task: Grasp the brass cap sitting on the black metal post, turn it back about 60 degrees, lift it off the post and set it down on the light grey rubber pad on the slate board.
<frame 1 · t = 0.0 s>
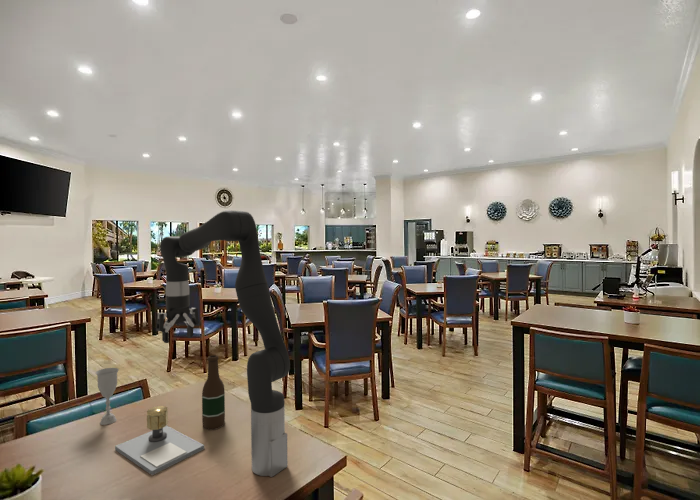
hand: (178, 340, 132), 29 cm above the table, fingers open, 8 cm apart
board: (159, 449, 116), on the table
beer bottle: (213, 425, 131), on the table
chalice: (108, 421, 134), on the table
cap: (157, 425, 120), point 5 cm above the table, touching board
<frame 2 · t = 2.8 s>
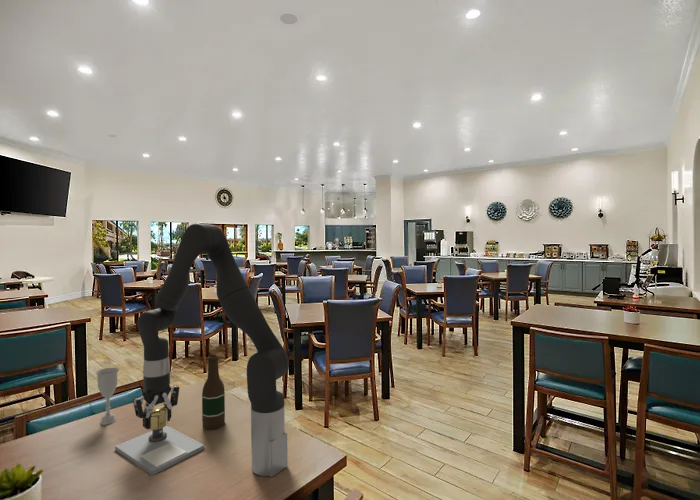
hand: (157, 424, 120), 6 cm above the table, fingers closed on cap, 5 cm apart
cap: (157, 425, 120), point 5 cm above the table, touching board, gripper
everything else where it was.
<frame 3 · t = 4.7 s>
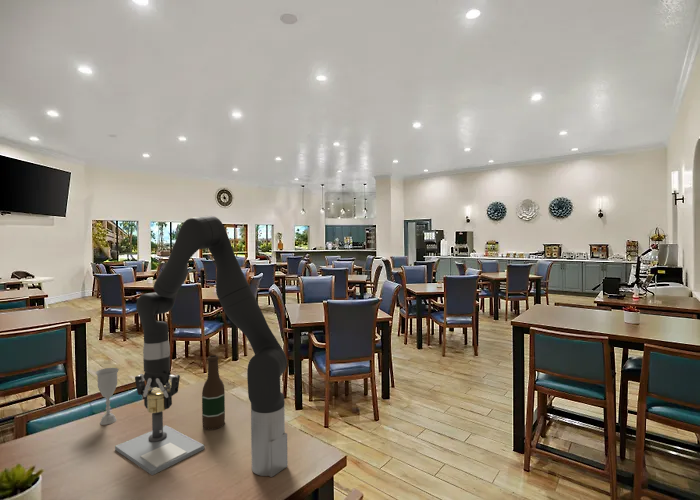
hand: (158, 407, 120), 11 cm above the table, fingers closed on cap, 5 cm apart
cap: (157, 408, 120), point 11 cm above the table, touching gripper
everything else where it was.
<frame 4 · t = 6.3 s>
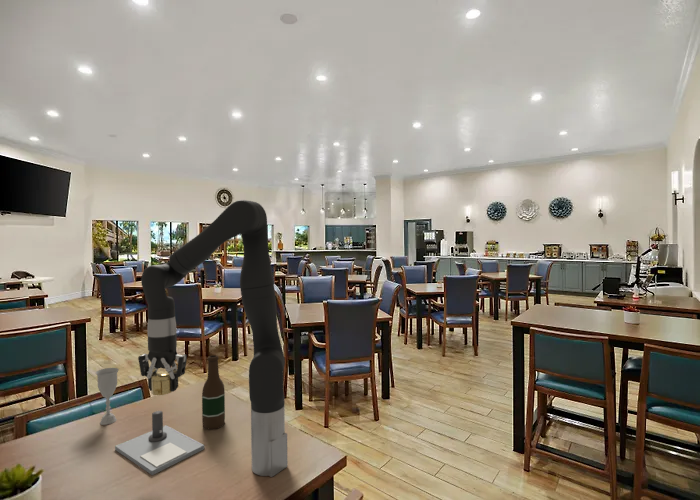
hand: (163, 390, 110), 20 cm above the table, fingers closed on cap, 5 cm apart
cap: (163, 391, 110), point 20 cm above the table, touching gripper
everything else where it was.
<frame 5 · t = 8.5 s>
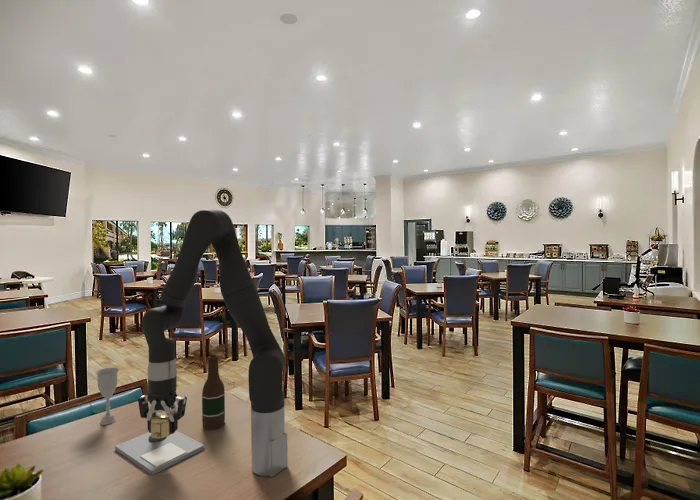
hand: (162, 431, 110), 8 cm above the table, fingers closed on cap, 5 cm apart
cap: (162, 433, 110), point 8 cm above the table, touching gripper
everything else where it was.
when the fingers open (3 cm above the table, at t = 10.0 s): cap drops 2 cm, resting on board.
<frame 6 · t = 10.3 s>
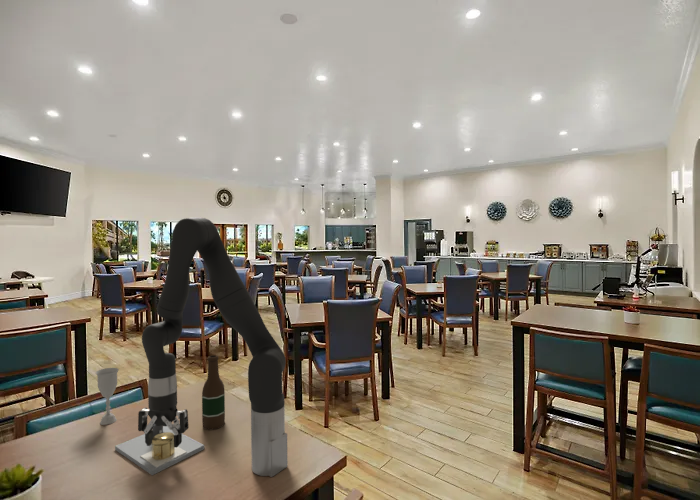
hand: (163, 445, 111), 4 cm above the table, fingers open, 8 cm apart
cap: (163, 454, 110), point 1 cm above the table, touching board
everything else where it was.
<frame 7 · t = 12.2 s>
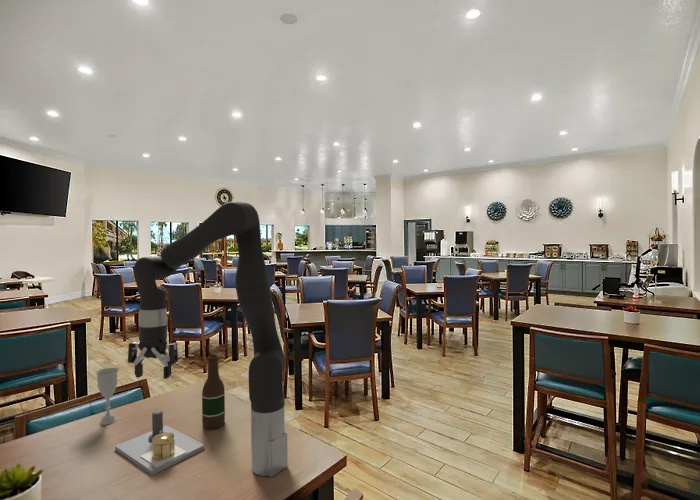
hand: (153, 377, 113), 23 cm above the table, fingers open, 8 cm apart
nothing on the table moved.
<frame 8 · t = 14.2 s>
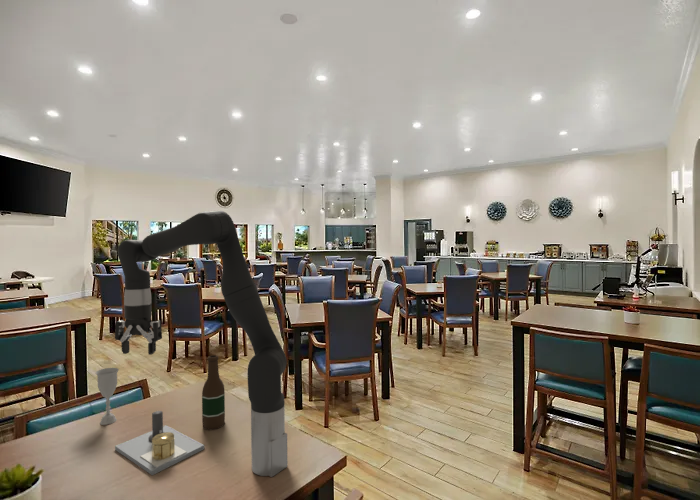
hand: (138, 353, 120), 28 cm above the table, fingers open, 8 cm apart
nothing on the table moved.
at the end: cap inside the target area (0.2 cm from its centre), point 1.5 cm above the table; cap tilted 0°; the gripper is holding nothing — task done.
